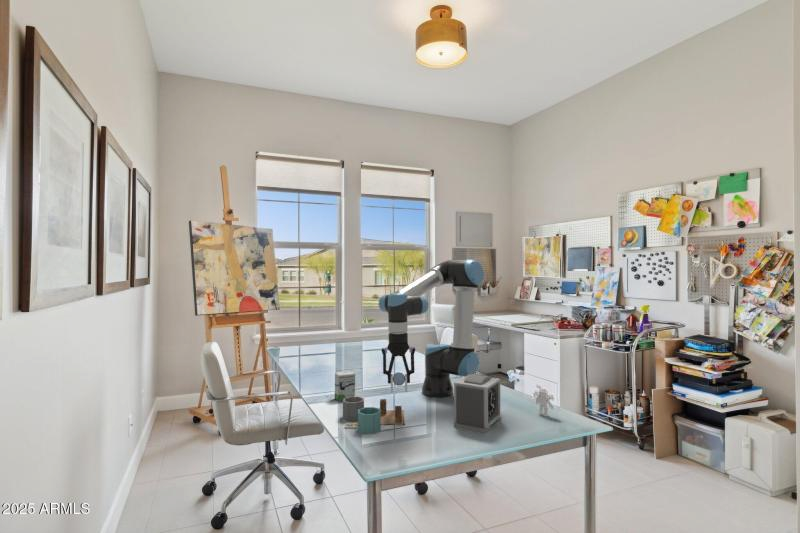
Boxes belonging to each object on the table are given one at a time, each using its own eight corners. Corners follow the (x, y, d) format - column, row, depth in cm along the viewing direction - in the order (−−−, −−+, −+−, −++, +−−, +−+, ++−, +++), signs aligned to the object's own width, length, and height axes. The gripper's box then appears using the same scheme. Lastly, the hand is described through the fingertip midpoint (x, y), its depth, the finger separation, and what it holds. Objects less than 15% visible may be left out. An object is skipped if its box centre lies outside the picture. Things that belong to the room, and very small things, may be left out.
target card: (363, 423, 165) (363, 421, 165) (362, 428, 160) (362, 426, 160) (345, 423, 165) (345, 422, 165) (344, 428, 160) (344, 426, 160)
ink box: (337, 401, 193) (337, 375, 194) (334, 398, 198) (334, 372, 198) (355, 398, 197) (355, 373, 198) (351, 395, 202) (351, 370, 202)
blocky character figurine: (531, 413, 177) (531, 384, 177) (537, 411, 180) (537, 382, 180) (550, 419, 170) (550, 388, 170) (556, 417, 172) (556, 387, 173)
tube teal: (380, 425, 163) (380, 407, 163) (380, 433, 155) (380, 414, 155) (358, 425, 163) (358, 407, 163) (357, 434, 155) (357, 414, 155)
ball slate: (405, 383, 170) (404, 370, 170) (405, 386, 165) (405, 374, 165) (392, 383, 170) (392, 371, 170) (392, 387, 165) (392, 374, 165)
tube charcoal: (364, 413, 177) (364, 396, 177) (363, 420, 169) (363, 402, 169) (344, 413, 177) (344, 396, 177) (342, 420, 168) (342, 402, 169)
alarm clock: (485, 434, 155) (485, 383, 155) (452, 427, 162) (452, 378, 162) (501, 419, 170) (501, 373, 171) (471, 413, 177) (471, 369, 178)
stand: (403, 411, 180) (403, 397, 180) (404, 424, 164) (404, 409, 164) (377, 411, 180) (377, 397, 180) (376, 425, 164) (376, 410, 164)
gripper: (420, 330, 172) (421, 388, 172) (375, 331, 171) (376, 389, 171) (421, 333, 164) (422, 393, 164) (374, 334, 164) (375, 394, 164)
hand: (399, 391), depth 168 cm, fingers closed on ball slate, 5 cm apart
